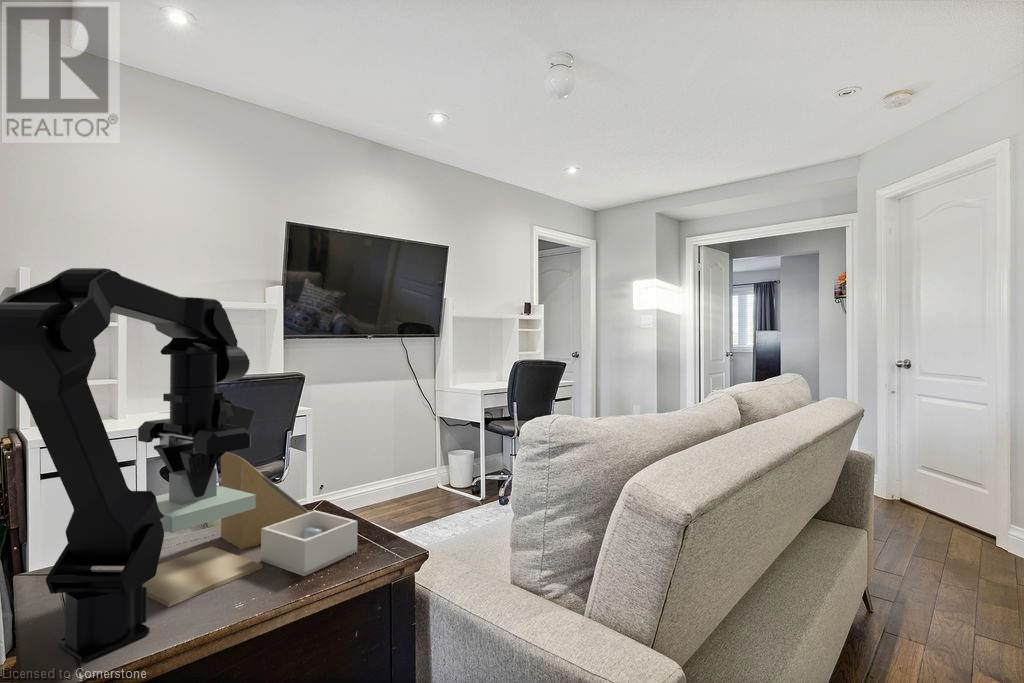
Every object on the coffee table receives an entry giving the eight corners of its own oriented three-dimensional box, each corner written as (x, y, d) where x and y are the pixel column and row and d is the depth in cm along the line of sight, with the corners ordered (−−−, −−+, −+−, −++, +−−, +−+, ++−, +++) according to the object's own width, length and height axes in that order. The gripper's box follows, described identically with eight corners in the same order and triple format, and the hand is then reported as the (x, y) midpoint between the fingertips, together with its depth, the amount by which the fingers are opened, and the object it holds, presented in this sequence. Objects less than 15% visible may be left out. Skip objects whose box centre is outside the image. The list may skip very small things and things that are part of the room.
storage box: (304, 576, 75) (304, 541, 75) (261, 561, 80) (261, 528, 80) (357, 552, 84) (357, 520, 84) (314, 539, 89) (315, 510, 89)
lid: (172, 532, 67) (172, 486, 67) (127, 517, 73) (127, 474, 73) (255, 508, 77) (255, 467, 77) (210, 496, 83) (210, 458, 83)
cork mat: (168, 606, 66) (168, 602, 66) (118, 582, 73) (118, 578, 73) (262, 568, 77) (262, 564, 77) (211, 550, 84) (211, 546, 84)
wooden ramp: (328, 525, 96) (328, 443, 96) (241, 550, 84) (241, 458, 84) (304, 514, 102) (305, 437, 101) (220, 537, 90) (220, 450, 90)
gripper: (285, 385, 77) (284, 490, 77) (212, 379, 87) (211, 474, 87) (209, 391, 68) (208, 511, 68) (136, 384, 77) (135, 490, 77)
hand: (192, 494), depth 75 cm, fingers closed on lid, 3 cm apart
